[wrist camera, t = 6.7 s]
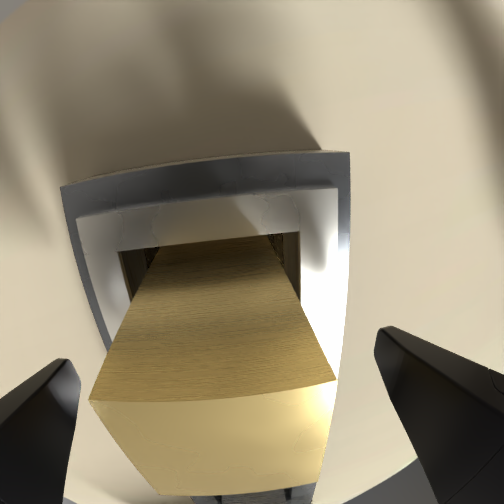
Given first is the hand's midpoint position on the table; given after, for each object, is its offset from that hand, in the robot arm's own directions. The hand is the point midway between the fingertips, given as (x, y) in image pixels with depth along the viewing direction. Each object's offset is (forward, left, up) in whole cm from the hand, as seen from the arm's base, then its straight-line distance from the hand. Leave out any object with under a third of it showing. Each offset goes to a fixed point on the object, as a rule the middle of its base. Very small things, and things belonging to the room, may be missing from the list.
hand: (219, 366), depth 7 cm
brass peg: (0, 0, -5) cm, 5 cm away
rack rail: (0, +8, -5) cm, 9 cm away
